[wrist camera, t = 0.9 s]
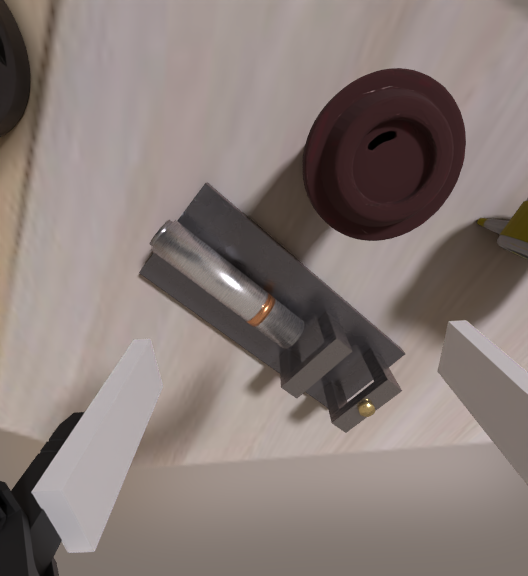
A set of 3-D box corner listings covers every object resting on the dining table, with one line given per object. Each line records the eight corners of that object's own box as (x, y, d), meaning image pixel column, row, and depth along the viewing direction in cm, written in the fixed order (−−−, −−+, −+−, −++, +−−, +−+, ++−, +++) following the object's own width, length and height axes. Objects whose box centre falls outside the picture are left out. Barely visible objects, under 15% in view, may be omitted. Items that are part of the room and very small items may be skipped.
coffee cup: (373, 214, 33) (448, 255, 20) (284, 204, 33) (296, 238, 19) (399, 111, 30) (514, 72, 16) (298, 99, 29) (325, 47, 15)
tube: (155, 241, 34) (141, 252, 30) (176, 213, 32) (164, 220, 29) (280, 336, 38) (281, 355, 35) (302, 314, 37) (306, 332, 33)
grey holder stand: (142, 269, 36) (111, 297, 29) (207, 182, 32) (190, 189, 25) (331, 406, 44) (343, 453, 37) (402, 349, 40) (430, 390, 33)
